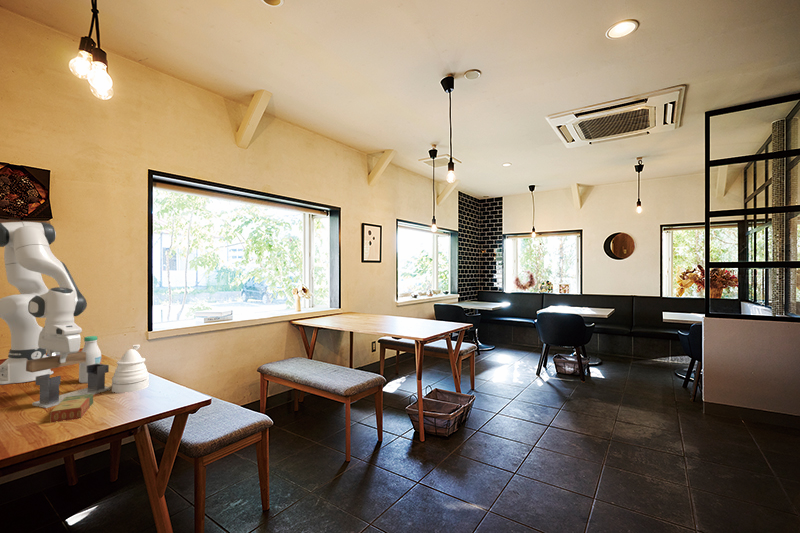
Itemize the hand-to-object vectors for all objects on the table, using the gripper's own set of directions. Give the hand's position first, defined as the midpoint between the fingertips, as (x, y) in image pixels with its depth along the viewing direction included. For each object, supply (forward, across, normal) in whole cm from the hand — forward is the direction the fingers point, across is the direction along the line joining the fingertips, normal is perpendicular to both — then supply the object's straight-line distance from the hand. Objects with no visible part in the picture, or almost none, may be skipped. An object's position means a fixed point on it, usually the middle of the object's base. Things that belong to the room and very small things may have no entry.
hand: (57, 361), depth 150 cm
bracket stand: (+12, +11, 0) cm, 17 cm away
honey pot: (+12, +21, +16) cm, 29 cm away
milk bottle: (+13, -6, +16) cm, 22 cm away
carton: (+12, +28, -10) cm, 33 cm away
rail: (+2, 0, 0) cm, 2 cm away
